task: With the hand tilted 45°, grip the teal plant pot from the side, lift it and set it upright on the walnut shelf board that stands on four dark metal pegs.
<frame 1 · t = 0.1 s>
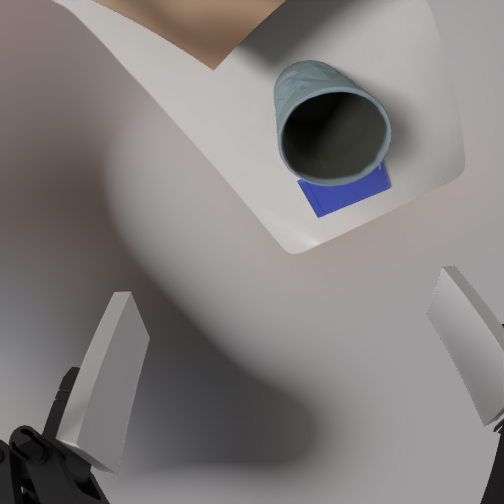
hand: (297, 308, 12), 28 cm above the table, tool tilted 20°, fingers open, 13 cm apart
hard drive: (344, 178, 41), on the table
teal plant pot: (307, 93, 31), on the table
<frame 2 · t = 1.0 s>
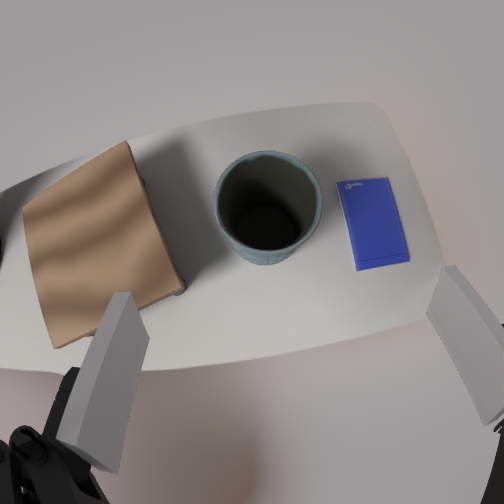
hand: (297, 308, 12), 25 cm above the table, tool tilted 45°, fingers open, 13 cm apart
hard drive: (370, 224, 39), on the table
teal plant pot: (265, 235, 38), on the table
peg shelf: (112, 254, 38), on the table
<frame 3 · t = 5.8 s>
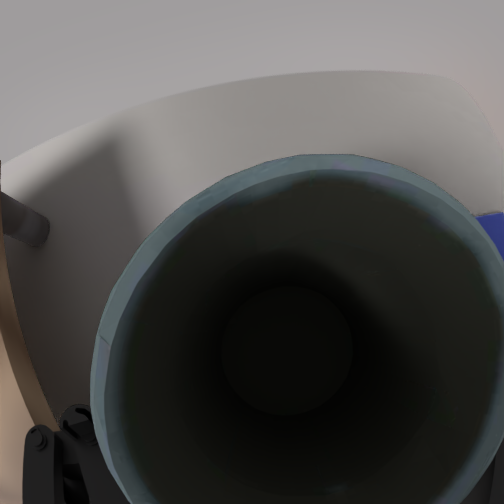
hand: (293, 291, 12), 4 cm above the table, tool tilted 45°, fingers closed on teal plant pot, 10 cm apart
hard drive: (479, 302, 17), on the table
teal plant pot: (288, 352, 16), on the table, touching gripper
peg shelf: (10, 360, 16), on the table
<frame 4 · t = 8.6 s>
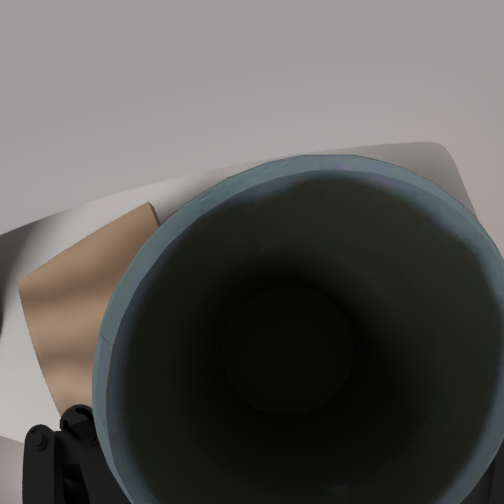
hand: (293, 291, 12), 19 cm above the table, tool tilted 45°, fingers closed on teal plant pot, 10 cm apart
teal plant pot: (289, 352, 16), point 14 cm above the table, touching gripper
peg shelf: (138, 340, 31), on the table
when the fingers open (14 cm above the table, at t = 11.4 s): teal plant pot drops 1 cm, resting on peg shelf.
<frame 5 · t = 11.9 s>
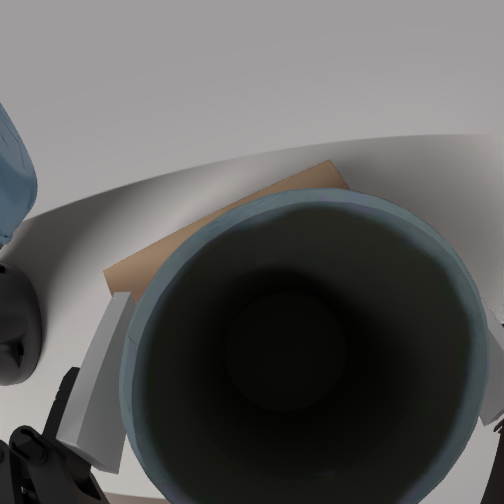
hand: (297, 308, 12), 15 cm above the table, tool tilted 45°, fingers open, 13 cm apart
teal plant pot: (286, 352, 18), point 8 cm above the table, touching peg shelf
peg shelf: (278, 341, 25), on the table
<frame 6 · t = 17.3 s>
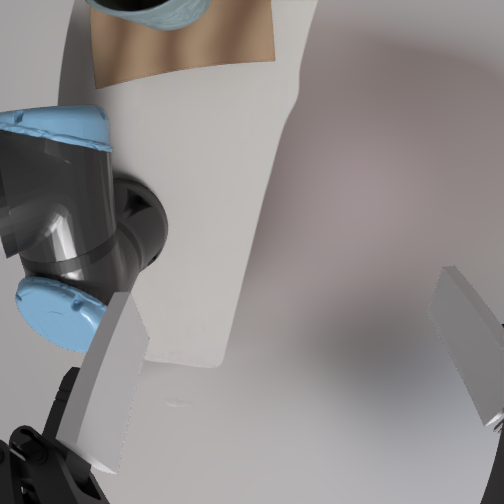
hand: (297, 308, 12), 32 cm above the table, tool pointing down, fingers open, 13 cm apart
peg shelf: (187, 12, 28), on the table
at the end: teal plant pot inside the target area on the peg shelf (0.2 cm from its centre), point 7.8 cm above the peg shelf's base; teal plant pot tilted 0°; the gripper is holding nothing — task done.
